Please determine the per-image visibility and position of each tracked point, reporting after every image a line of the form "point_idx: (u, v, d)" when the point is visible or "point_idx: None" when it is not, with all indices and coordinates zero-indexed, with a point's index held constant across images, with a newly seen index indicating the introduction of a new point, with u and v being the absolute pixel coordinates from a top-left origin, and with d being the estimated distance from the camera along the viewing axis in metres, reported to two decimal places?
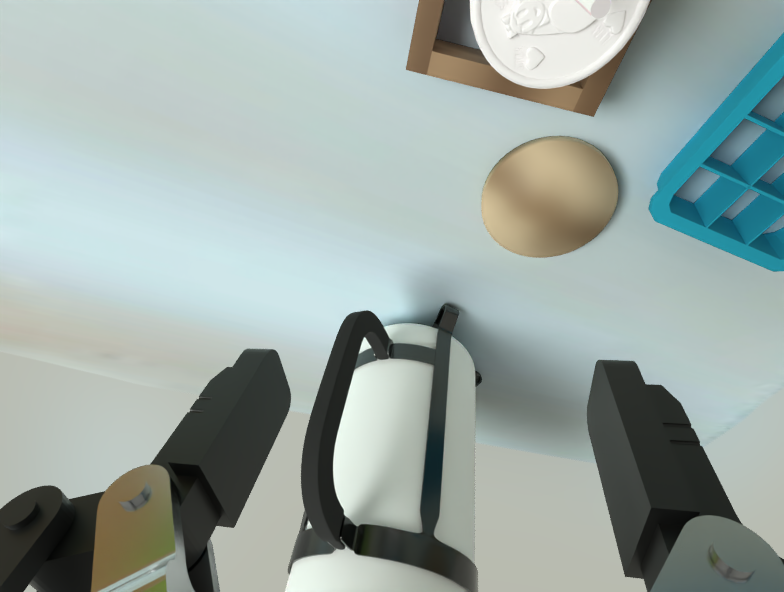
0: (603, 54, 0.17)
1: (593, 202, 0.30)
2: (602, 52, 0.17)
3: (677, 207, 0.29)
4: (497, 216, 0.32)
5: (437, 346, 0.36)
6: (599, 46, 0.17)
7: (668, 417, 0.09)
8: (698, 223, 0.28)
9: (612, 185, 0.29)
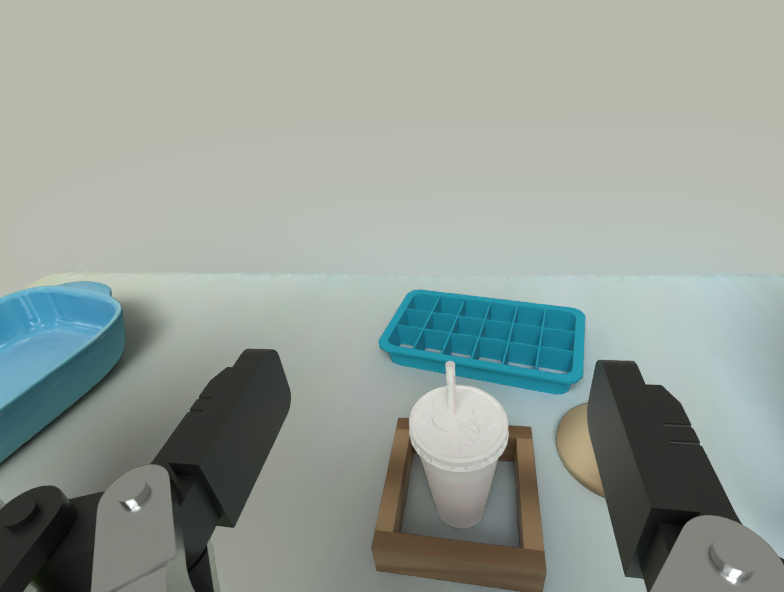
0: (480, 393, 0.30)
1: None
2: (479, 394, 0.29)
3: None
4: None
5: None
6: (476, 396, 0.29)
7: (668, 417, 0.09)
8: (573, 356, 0.42)
9: (577, 409, 0.38)
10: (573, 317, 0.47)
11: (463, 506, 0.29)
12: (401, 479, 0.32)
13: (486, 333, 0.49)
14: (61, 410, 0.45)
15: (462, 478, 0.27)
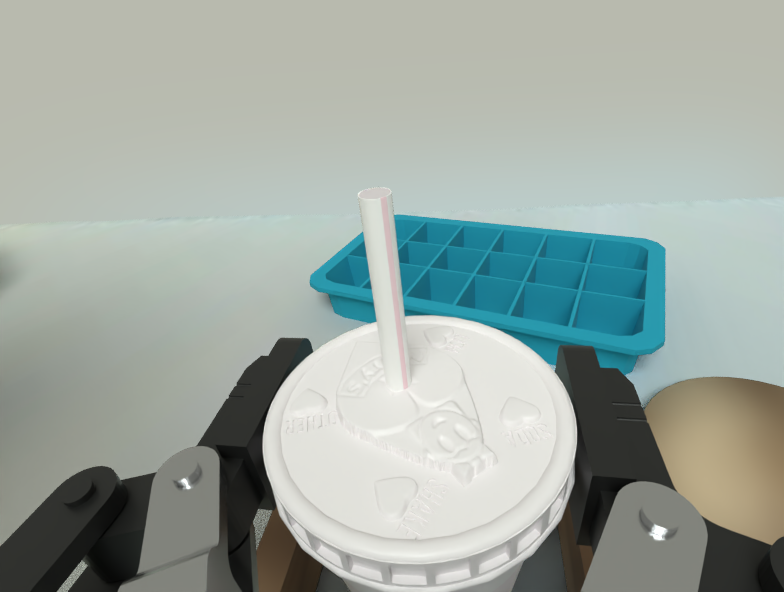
0: (482, 333, 0.11)
1: (713, 403, 0.19)
2: (480, 335, 0.11)
3: None
4: None
5: None
6: (473, 341, 0.11)
7: (620, 396, 0.09)
8: (643, 308, 0.22)
9: (671, 392, 0.19)
10: (643, 252, 0.27)
11: None
12: (291, 557, 0.13)
13: (491, 276, 0.30)
14: None
15: None
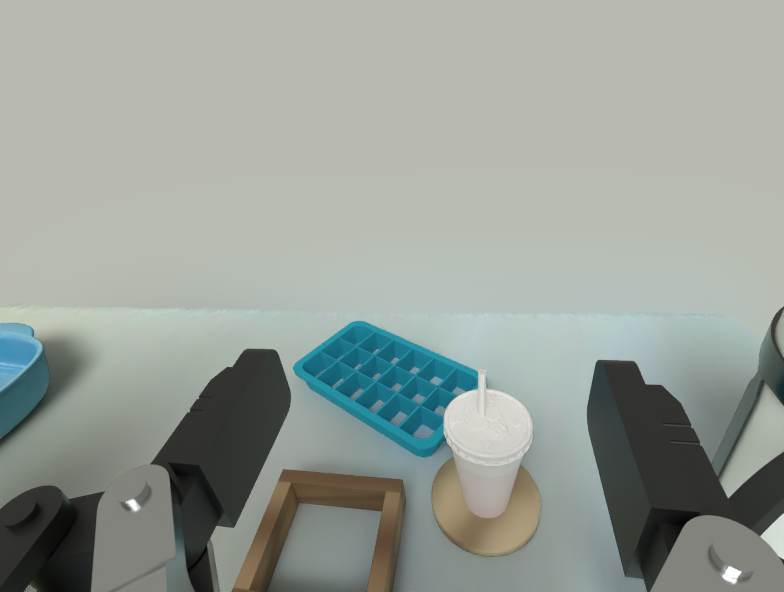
0: (505, 396, 0.33)
1: None
2: (504, 397, 0.33)
3: None
4: (508, 532, 0.34)
5: None
6: (502, 399, 0.33)
7: (668, 417, 0.09)
8: (442, 423, 0.42)
9: None
10: (476, 383, 0.46)
11: (492, 497, 0.33)
12: (270, 534, 0.34)
13: (397, 378, 0.50)
14: None
15: (493, 472, 0.30)
